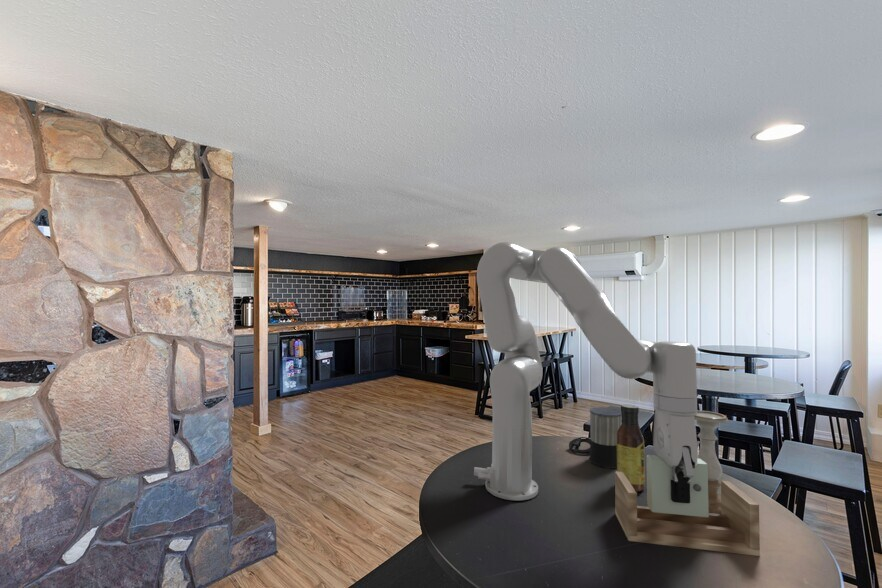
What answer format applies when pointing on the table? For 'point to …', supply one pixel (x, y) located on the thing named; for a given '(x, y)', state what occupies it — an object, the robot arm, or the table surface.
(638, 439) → the sauce bottle
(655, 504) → the rectangular block
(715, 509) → the candle holder
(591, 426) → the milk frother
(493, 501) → the table surface
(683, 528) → the track
